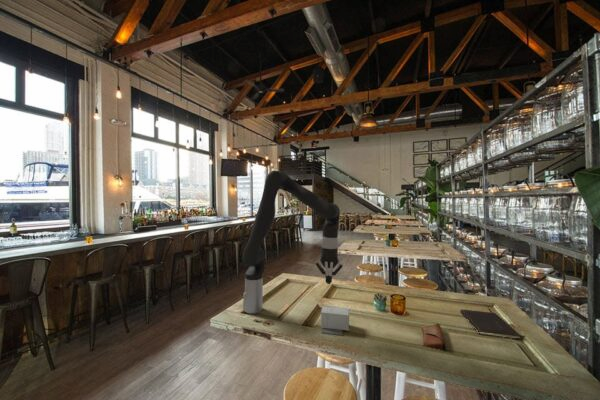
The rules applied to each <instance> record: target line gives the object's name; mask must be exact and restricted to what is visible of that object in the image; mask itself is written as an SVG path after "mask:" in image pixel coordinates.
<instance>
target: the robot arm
mask: <svg viewBox="0 0 600 400" xmlns="http://www.w3.org/2000/svg"><path fill="white" fill-rule="evenodd" d="M264 181H265V182H264V187H263V191H262V196H261V198H260V202H259V206H258V209H257V213H256V215H255V218H254V222H253V224H252V228H251V232H250V234H249V238H248V241H247V243H246V245H245V248H244V250H243V252H242V257H241V258H242V263H243V264H244V266H246V267H248V269H247V270H246V271H245V273H244V292H243V294H242V301H243V302H242V304H243V305H242V312H245V313H247V314H251V315H252V314H258V313H261V312H262V311H263V293H264V292H263V291H264V290H263V289H264V288H263V286H264V285H263V284H264V281H263V280H264V279H263V278H264V273H265V267H266V266H265V265H266V263H265V262H266V254H265V251H264V249H263V248H262V246H261V245H262V243H263V241H264V239H265V238H266V237H267V235H268V234H269V232H270V230H271V229H272V227H273V223H274V222H275V217H276V204H275V203H276V198H277V195H278V192H279V190H281V191H285V192H287V193H290V194H291V195H292V196H294V198H296V199H297V200H298V201H300V202H301V203H302V204H303V205H305V206H306V207H309V208H310V209H311V210H314V211H315V212H316V213H317V214H319V215H320V216H321V217H323V218H325V220H324V224H323V227H322V237H321V238H322V239H321V257H320V259H319V261H316V263H315V266H316V268H318V270H319V271H320V273H321V274H322V275H325V283H326V284H327V285H330V284H331V283H332V281H333V277H334V276H336V275H337V274H338V273H339V272H340V270H341V269H343V265H344V264H342V263H341V262H339V260H340V259H339V258H338V254H339V253H338V252H339V238H338V236H339V230H338V229H339V228H338V227H339V221H340V217H341V216H340V214H341V211H340V207H339V206H338V205H337V204H336V203H330V202H328V201H327V200H325V199H323V198H322V196H320V195H318V194H317V193H315V192H313V191H312V190H309V189H308V188H306V187H304V186H303V185H301V184H300V183H297V182H296V181H295V180H294V179H293V178H291V177H290V176H289V175H287V174H286V173H285V172H283V171H282V170H281V171H280V170H275V169H274V170H273V169H272V170H270V171H269V172H268V173H267V175H266V178H265V180H264ZM322 266H323V267H322ZM336 266H337V267H336ZM334 269H335V270H334ZM333 270H334V271H333Z"/></svg>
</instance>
